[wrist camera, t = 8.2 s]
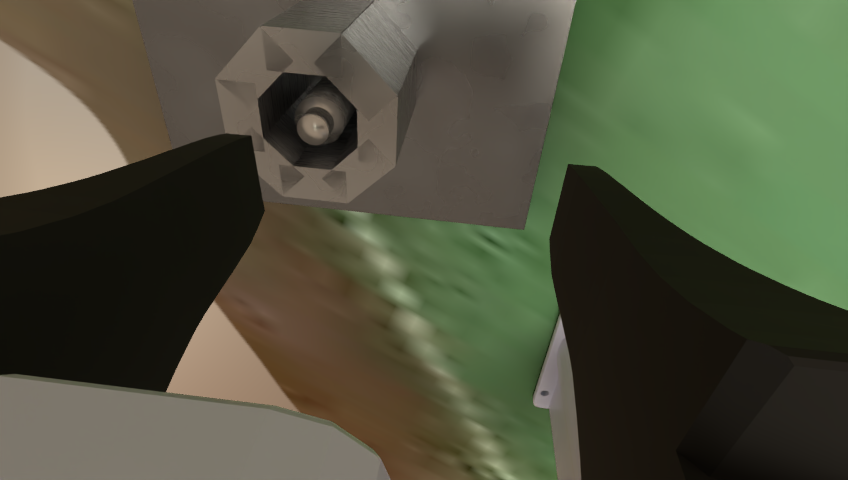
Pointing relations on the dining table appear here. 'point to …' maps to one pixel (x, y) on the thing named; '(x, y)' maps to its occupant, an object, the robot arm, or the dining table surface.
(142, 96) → the dining table surface
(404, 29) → the shaft block
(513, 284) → the dining table surface
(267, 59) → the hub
